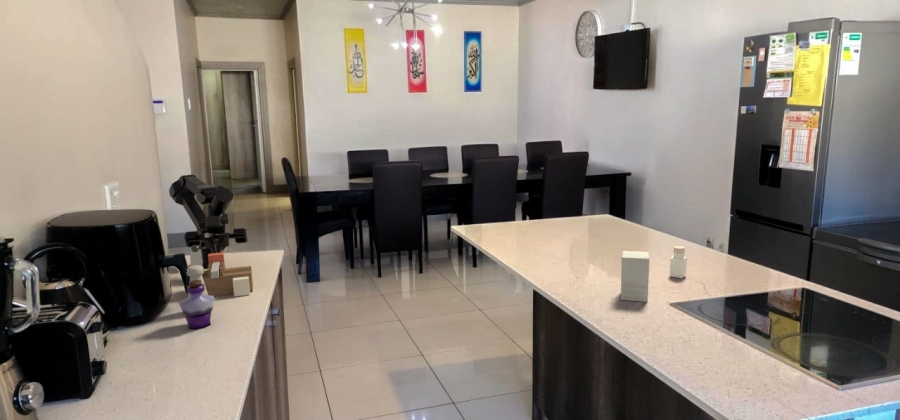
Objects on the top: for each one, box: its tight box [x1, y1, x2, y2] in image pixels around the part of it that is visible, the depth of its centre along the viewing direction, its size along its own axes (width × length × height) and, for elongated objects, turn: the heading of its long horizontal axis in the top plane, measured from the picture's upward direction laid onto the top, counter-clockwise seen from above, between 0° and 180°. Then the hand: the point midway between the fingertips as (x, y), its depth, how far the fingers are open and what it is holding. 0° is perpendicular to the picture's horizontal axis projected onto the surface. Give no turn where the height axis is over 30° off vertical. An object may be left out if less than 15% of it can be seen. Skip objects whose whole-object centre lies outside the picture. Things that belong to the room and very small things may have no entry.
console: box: [203, 262, 254, 297], centre depth 176 cm, size 8×18×8 cm, turn 108°
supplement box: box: [620, 250, 650, 303], centre depth 163 cm, size 7×7×13 cm
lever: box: [189, 245, 203, 277], centre depth 171 cm, size 2×3×10 cm
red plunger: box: [208, 251, 226, 278], centre depth 175 cm, size 13×4×6 cm, turn 18°
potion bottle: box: [179, 280, 215, 330], centre depth 149 cm, size 9×9×12 cm
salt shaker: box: [186, 265, 208, 298], centre depth 159 cm, size 6×6×13 cm
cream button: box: [233, 276, 251, 297], centre depth 173 cm, size 2×4×5 cm, turn 108°
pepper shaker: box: [669, 245, 688, 279], centre depth 181 cm, size 4×4×10 cm
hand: (216, 259), depth 185 cm, fingers closed
